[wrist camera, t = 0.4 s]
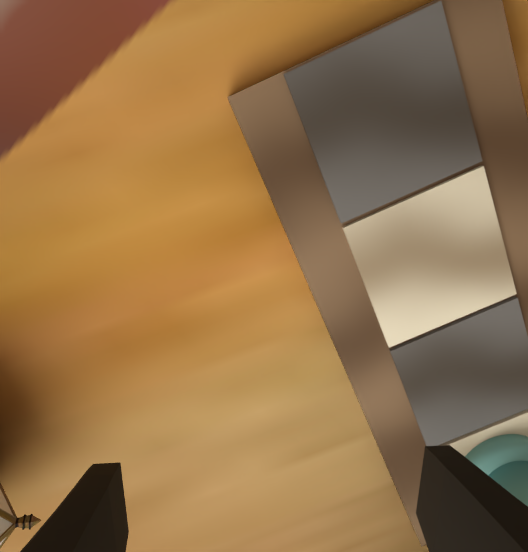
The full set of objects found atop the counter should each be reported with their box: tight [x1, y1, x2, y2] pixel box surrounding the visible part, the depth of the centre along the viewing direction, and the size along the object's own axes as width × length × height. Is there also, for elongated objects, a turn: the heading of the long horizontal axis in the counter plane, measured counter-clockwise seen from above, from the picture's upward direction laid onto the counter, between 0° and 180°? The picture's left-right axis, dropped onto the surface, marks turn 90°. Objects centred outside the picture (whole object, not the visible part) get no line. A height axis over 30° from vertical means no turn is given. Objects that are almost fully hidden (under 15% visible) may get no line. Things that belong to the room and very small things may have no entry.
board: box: [228, 0, 528, 546], centre depth 20 cm, size 24×10×1 cm, turn 24°
